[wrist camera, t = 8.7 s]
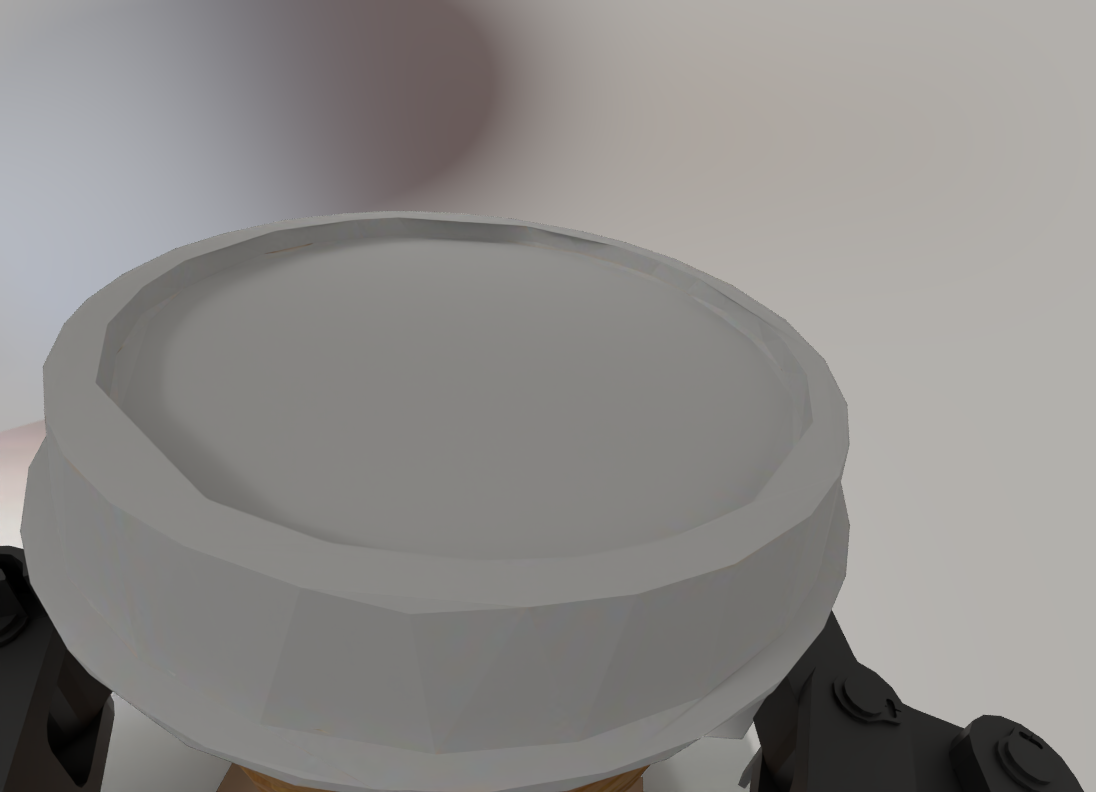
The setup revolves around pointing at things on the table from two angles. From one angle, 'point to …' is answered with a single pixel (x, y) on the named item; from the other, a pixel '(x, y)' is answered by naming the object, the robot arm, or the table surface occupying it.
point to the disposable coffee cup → (435, 502)
